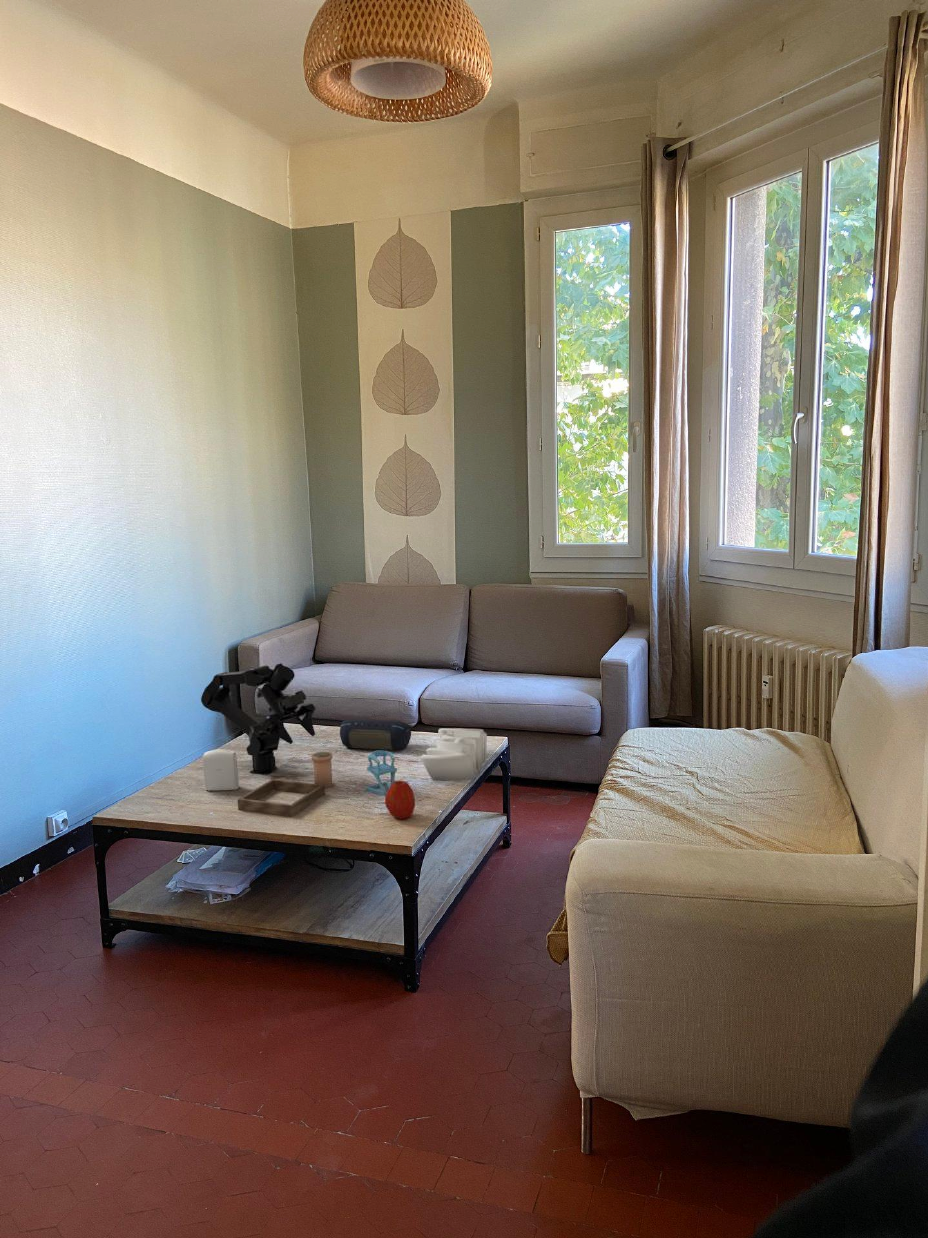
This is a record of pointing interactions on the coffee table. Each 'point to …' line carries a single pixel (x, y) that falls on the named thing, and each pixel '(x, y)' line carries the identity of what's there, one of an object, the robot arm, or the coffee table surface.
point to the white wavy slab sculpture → (456, 754)
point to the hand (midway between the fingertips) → (303, 739)
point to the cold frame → (252, 804)
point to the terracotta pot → (322, 768)
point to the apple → (400, 800)
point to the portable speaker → (375, 734)
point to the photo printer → (220, 770)
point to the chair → (381, 771)
